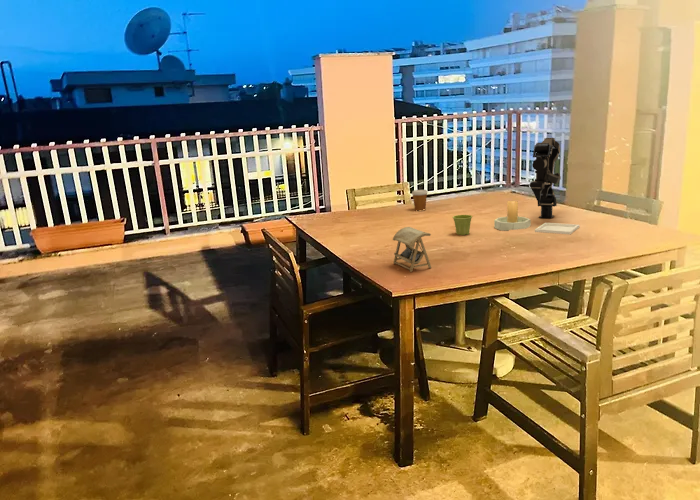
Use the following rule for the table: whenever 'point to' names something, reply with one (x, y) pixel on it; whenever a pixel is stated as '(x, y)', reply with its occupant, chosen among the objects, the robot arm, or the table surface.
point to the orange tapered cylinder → (512, 211)
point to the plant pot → (462, 224)
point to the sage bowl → (511, 224)
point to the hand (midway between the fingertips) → (541, 199)
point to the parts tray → (557, 228)
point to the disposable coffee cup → (419, 199)
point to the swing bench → (411, 247)
